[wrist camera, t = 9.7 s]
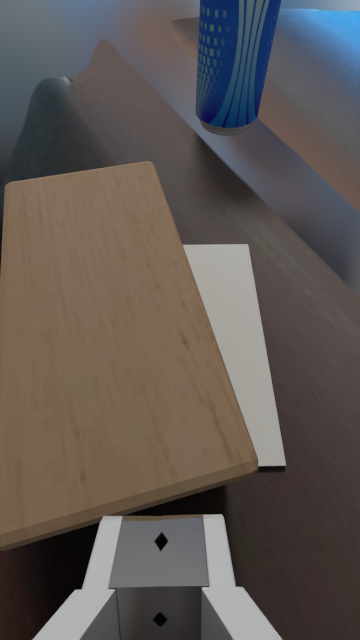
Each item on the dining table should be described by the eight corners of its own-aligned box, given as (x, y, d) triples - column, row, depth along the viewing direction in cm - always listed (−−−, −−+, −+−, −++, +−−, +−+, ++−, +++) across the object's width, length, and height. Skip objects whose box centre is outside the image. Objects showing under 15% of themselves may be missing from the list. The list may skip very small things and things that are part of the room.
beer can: (264, 135, 40) (308, -53, 27) (203, 142, 40) (216, -47, 26) (244, 103, 44) (274, -73, 31) (189, 109, 44) (193, -69, 30)
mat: (284, 465, 20) (286, 465, 20) (63, 469, 20) (61, 469, 20) (247, 246, 30) (247, 244, 30) (98, 248, 30) (97, 245, 30)
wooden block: (228, 481, 20) (161, 256, 29) (266, 472, 11) (153, 156, 21) (73, 527, 18) (56, 276, 28) (-21, 558, 10) (1, 180, 19)
